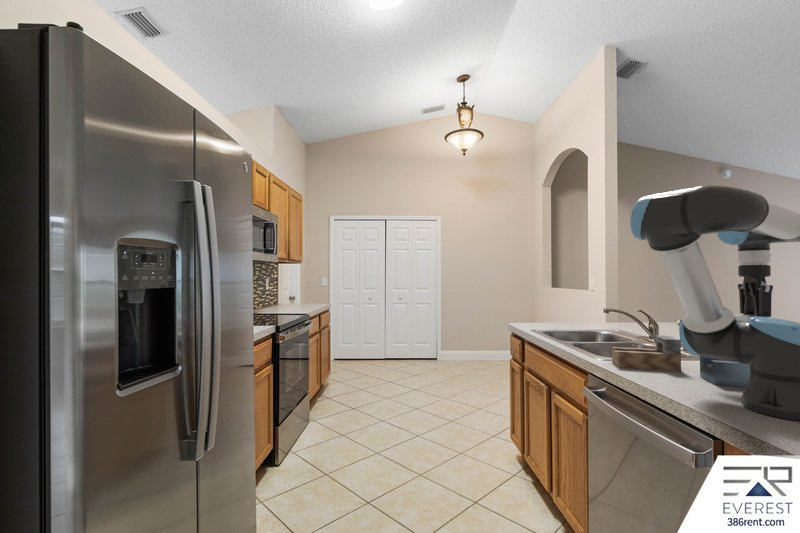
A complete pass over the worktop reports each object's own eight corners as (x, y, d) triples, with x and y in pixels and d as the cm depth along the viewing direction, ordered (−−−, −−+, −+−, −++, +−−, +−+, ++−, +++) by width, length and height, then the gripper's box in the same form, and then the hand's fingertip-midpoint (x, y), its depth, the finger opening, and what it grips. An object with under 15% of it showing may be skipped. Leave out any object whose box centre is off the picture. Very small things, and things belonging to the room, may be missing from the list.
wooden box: (670, 365, 143) (670, 335, 144) (681, 371, 135) (680, 340, 135) (612, 361, 149) (611, 333, 149) (618, 367, 140) (618, 337, 141)
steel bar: (763, 328, 118) (763, 316, 118) (702, 325, 122) (702, 314, 122) (756, 326, 121) (756, 315, 121) (697, 324, 126) (697, 313, 126)
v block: (753, 387, 116) (753, 363, 116) (714, 384, 118) (714, 361, 118) (735, 378, 125) (735, 357, 125) (700, 376, 128) (699, 355, 128)
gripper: (787, 263, 111) (788, 343, 111) (752, 264, 127) (753, 334, 127) (756, 264, 113) (757, 342, 113) (725, 264, 129) (726, 333, 129)
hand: (755, 337), depth 120 cm, fingers closed on steel bar, 4 cm apart
